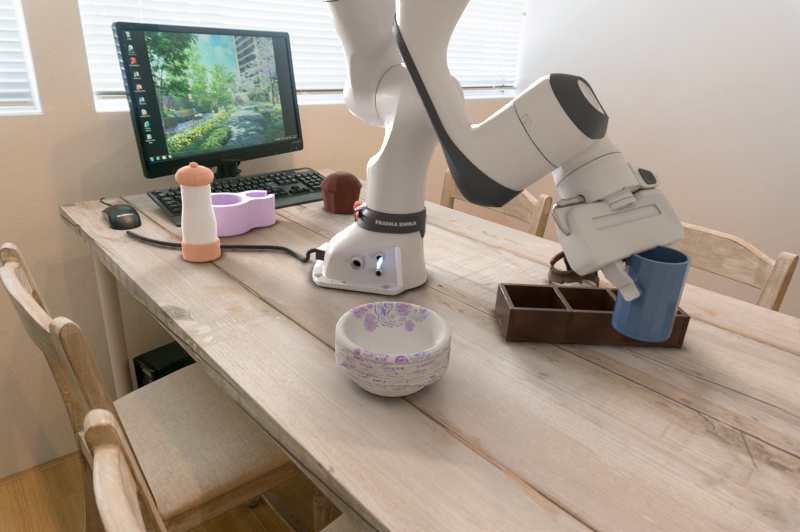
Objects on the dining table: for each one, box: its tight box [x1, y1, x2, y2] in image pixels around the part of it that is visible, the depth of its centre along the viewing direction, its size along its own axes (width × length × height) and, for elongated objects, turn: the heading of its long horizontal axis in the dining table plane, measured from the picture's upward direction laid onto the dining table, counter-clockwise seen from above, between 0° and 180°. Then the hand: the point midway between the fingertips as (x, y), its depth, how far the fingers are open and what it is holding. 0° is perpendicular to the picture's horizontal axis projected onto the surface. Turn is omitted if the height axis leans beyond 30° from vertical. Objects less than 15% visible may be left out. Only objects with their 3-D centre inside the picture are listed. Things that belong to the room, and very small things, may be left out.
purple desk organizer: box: [211, 189, 276, 238], centre depth 126 cm, size 20×12×7 cm, turn 132°
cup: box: [611, 245, 693, 342], centre depth 64 cm, size 7×7×10 cm
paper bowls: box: [334, 300, 453, 398], centre depth 70 cm, size 15×15×8 cm
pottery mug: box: [547, 250, 600, 287], centre depth 105 cm, size 12×10×8 cm
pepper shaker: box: [174, 161, 221, 263], centre depth 105 cm, size 7×7×19 cm
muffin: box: [319, 170, 363, 215], centre depth 144 cm, size 12×11×10 cm
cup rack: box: [494, 282, 691, 349], centre depth 87 cm, size 28×10×6 cm, turn 91°
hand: (655, 290), depth 63 cm, fingers closed on cup, 7 cm apart
